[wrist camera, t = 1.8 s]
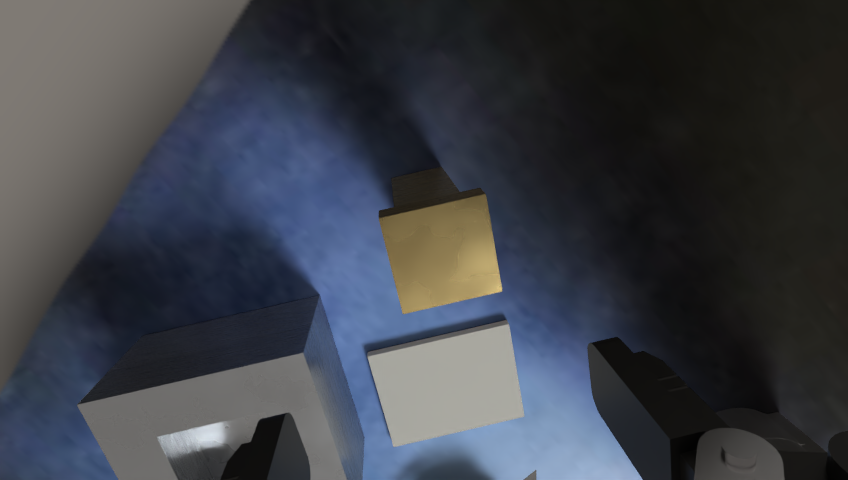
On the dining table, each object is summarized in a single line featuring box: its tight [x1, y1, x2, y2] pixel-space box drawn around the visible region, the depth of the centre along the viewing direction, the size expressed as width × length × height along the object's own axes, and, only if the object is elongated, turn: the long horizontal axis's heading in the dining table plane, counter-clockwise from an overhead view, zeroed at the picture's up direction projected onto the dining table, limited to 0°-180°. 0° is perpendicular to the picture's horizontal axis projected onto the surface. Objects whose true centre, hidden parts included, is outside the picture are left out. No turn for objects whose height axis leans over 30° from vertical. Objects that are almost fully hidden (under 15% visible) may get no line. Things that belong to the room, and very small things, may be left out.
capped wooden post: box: [379, 167, 502, 314], centre depth 25 cm, size 4×4×11 cm
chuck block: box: [77, 295, 364, 480], centre depth 30 cm, size 14×12×7 cm
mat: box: [367, 320, 524, 447], centre depth 34 cm, size 10×8×1 cm
